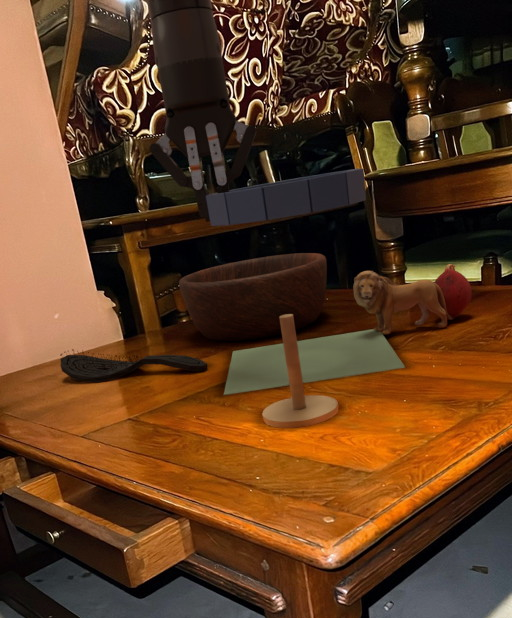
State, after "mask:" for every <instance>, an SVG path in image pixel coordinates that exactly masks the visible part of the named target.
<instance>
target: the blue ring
mask: <svg viewBox="0 0 512 618" xmlns="http://www.w3.org/2000/svg"><path fill="white" fill-rule="evenodd" d="M365 181H366V180H365V172H364V168H354V169H353V168H352V169H346V170H340V171H339V170H338V171H333V172H332V171H331V172H328V173H327V172H326V173H320V174H315V175H308V176H303V177H302V176H301V177H297V178H290V179H285V180H280V181H274V182H268V183H261V184H256V185H250V186H245V187H240V188H234V189H229V191H230V192H225V193H218V194H217V192H213V193H208V195H206V201H207V206H208V212H209V218H210V222H209V224H210V226H211V227H221V226H222V227H223V226H235V225H242V224H250V223H260V222H267V221H271V220H278V219H284V218H290V217H295V216H302V215H309V214H314V213H319V212H323V211H327V210H333V209H337V208H338V209H339V208H342V207H347V206H351V205H355V204H357V203H361V202H364V201H367V192H366V191H367V190H366V182H365Z"/></svg>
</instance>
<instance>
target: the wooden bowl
mask: <svg viewBox="0 0 512 618" xmlns="http://www.w3.org/2000/svg"><path fill="white" fill-rule="evenodd" d="M327 273H328V265H327V258H326V256H325V255H323V254H322V253H316V252H301V253H300V252H299V253H298V252H297V253H287V254H286V253H285V254H276V255H269V256H268V255H267V256H263V257H262V256H261V257H255V258H250V259H244V260H239V261H234V262H228V263H224V264H219V265H216V266H212V267H208V268H204V269H201V270H198V271H195V272H192V273H190V274H188V275H185V276H183V277H181V278H180V280H179V281H178V287H179V291H180V293H181V297H182V299H183V302H184V305H185V308H186V310H187V313H188V315H189V317H190V319H191V321H192V322H193V325H194V326H195V327H196V329H197V330H198V331H199V332H200V333H201V334H202V336H204V337H205V338H207V339H209V340H212V341H217V342H239V341H240V342H241V341H251V340H258V339H264V338H269V337H275V336H279V335H282V332H281V325H280V318H279V317H280V316H282V315H286V314H293V317H294V324H295V331H297V330H300V329H302V328H305V327H307V326H309V325H311V324H313V323H314V322H315V321H316V320H317V319H318V318H319V316H320V314H321V313H322V310H323V306H324V303H325V299H326V294H327V293H326V292H327V279H328V277H327Z"/></svg>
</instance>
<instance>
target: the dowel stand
mask: <svg viewBox="0 0 512 618" xmlns="http://www.w3.org/2000/svg"><path fill="white" fill-rule="evenodd" d="M279 318H280V325H281V332H282V334H281V337H282V343H283V345H284V351H285V358H286V365H287V371H288V378H289V390H290V397H289V398H285V399H281V400H278V401H275V402H273V403H271V404H269V405H268V406H266V407H265V408H264V409H263V410H262V413H261V416H262V420H263V421H262V422H263V423H264V424H266V425H267V426H269V427H273V428H280V429H296V428H303V427H308V426H313V425H317V424H321V423H323V422H325V421H328V420H330V419H332V418H333V417H334V416H336V415H337V414H338V412H339V403H338V400H337V399H336V398H334V397H331V396H328V395H320V394H318V395H317V394H309V395H308V394H307V395H305V388H304V383H303V380H302V373H301V366H300V359H299V352H298V345H297V341H298V339H297V330H295V324H294V317H293V314H286V315H282V316H280V317H279Z"/></svg>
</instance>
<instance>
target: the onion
mask: <svg viewBox="0 0 512 618" xmlns="http://www.w3.org/2000/svg"><path fill="white" fill-rule="evenodd" d="M433 282H434V283H436V284H437V285H438V286H439V287H440V289H441V291H442V293H443V296H444V299H445V304H446V310H447V313H448V315H450V316H451V317H452V318H453V320H455V319H457V318H458V317H459V315H461V313H462V312H463V311H464V310H465V309H467V307H468V306H469V304H470V302H471V300H472V297H473V291H472V286H471V283H470V282H469V279H468V278H466V276H465V275H463V274H462V273H461V272H459V271H457V270H456V269H455V265H454V264H452V263H449V264H447V265H446V267H445V269H444V271H443V272H442V273H441V274H440V275H438V276H437V278H436V279H435V280H434V281H433ZM437 298H438V302H439V304H440V306H441V302H440V299H439V296H438V294H437ZM441 307H442V306H441Z"/></svg>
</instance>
